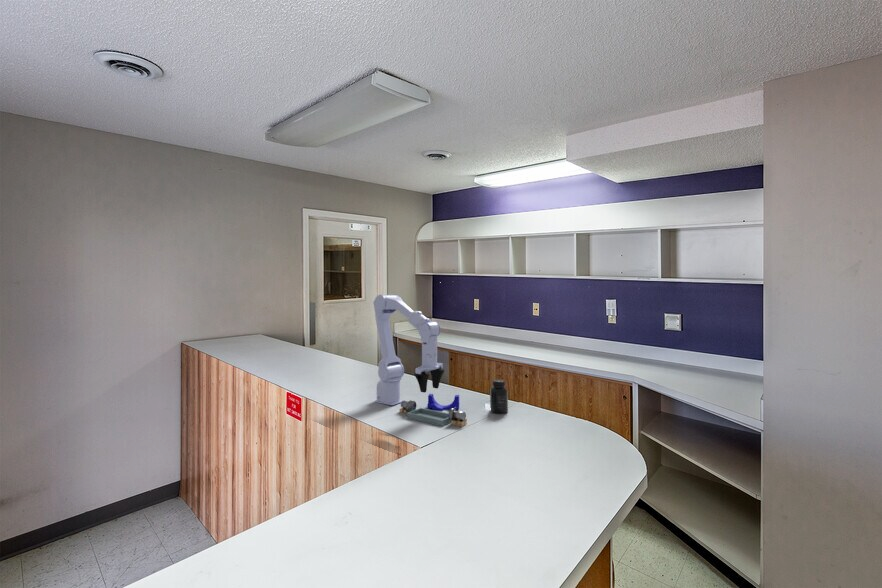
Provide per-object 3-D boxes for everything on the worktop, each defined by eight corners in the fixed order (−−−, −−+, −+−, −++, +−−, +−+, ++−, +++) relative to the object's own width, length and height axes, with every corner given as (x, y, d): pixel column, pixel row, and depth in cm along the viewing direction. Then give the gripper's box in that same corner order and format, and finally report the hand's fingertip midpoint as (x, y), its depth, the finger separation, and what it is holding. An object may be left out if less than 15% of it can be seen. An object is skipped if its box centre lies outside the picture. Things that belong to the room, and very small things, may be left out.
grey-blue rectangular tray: (406, 418, 152) (406, 412, 152) (420, 412, 159) (420, 407, 159) (442, 426, 143) (442, 420, 143) (455, 420, 150) (455, 414, 150)
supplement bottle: (509, 409, 163) (509, 379, 162) (506, 414, 156) (506, 383, 156) (492, 408, 165) (492, 378, 165) (488, 413, 158) (488, 381, 158)
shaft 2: (448, 425, 144) (448, 409, 144) (454, 421, 148) (453, 406, 148) (461, 427, 142) (461, 411, 142) (466, 423, 146) (466, 408, 146)
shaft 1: (416, 413, 158) (416, 399, 158) (407, 416, 155) (407, 401, 155) (407, 411, 161) (407, 397, 161) (399, 413, 158) (399, 399, 158)
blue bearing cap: (427, 411, 161) (427, 396, 161) (429, 408, 165) (429, 393, 165) (458, 413, 159) (458, 397, 159) (459, 409, 163) (459, 394, 163)
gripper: (426, 357, 147) (426, 395, 147) (449, 352, 159) (449, 387, 159) (410, 355, 151) (410, 392, 151) (434, 351, 163) (434, 385, 163)
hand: (429, 390), depth 155 cm, fingers open, 7 cm apart
